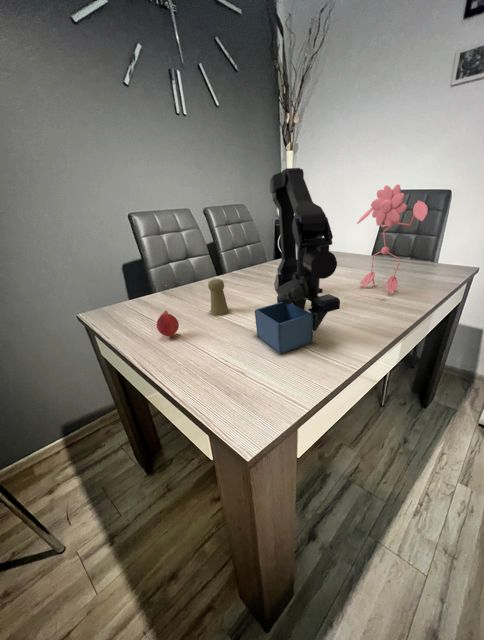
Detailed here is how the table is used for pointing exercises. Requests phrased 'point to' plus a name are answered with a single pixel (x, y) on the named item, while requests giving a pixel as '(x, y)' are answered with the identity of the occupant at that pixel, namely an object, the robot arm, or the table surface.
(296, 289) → the robot arm
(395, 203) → the figurine
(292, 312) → the blue drawer
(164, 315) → the onion
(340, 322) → the table surface
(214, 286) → the tan chess pawn
